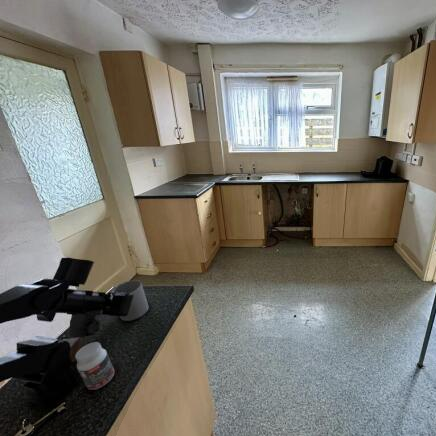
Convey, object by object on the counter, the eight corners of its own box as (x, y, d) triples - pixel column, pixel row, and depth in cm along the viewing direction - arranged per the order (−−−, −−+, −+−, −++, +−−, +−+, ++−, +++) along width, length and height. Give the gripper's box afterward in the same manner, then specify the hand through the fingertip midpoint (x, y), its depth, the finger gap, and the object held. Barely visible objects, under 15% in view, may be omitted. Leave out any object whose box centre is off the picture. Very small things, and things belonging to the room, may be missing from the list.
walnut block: (73, 363, 64) (66, 351, 62) (55, 365, 64) (49, 353, 62) (84, 348, 68) (79, 337, 67) (68, 350, 68) (62, 339, 66)
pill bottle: (97, 393, 56) (82, 364, 53) (81, 386, 58) (65, 358, 54) (120, 371, 61) (108, 343, 58) (105, 365, 63) (91, 337, 59)
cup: (134, 322, 77) (125, 297, 73) (114, 318, 79) (104, 294, 75) (154, 304, 84) (147, 281, 81) (135, 301, 86) (127, 278, 83)
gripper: (27, 334, 59) (85, 331, 73) (95, 338, 56) (140, 334, 71) (47, 287, 63) (98, 293, 77) (111, 290, 61) (150, 295, 75)
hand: (120, 304), depth 75 cm, fingers closed
